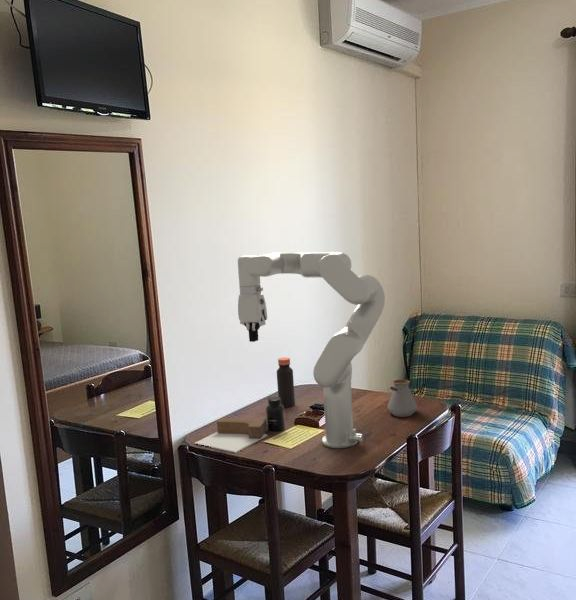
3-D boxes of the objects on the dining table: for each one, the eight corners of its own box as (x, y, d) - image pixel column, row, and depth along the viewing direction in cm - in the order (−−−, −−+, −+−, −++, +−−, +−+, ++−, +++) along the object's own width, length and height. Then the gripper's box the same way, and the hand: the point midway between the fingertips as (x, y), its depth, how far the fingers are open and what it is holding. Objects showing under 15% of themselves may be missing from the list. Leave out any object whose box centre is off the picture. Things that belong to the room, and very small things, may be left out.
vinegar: (292, 407, 253) (289, 360, 250) (276, 407, 255) (273, 360, 252) (296, 402, 259) (294, 356, 256) (281, 402, 261) (278, 356, 259)
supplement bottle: (269, 433, 224) (267, 402, 223) (265, 427, 231) (263, 397, 229) (287, 430, 226) (285, 399, 225) (282, 425, 233) (280, 394, 231)
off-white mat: (267, 435, 222) (267, 434, 222) (235, 453, 208) (235, 451, 208) (227, 428, 233) (227, 426, 233) (194, 444, 219) (194, 442, 218)
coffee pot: (392, 408, 245) (390, 371, 243) (420, 410, 240) (419, 373, 238) (376, 425, 226) (375, 386, 224) (407, 428, 221) (406, 388, 219)
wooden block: (259, 427, 217) (212, 426, 222) (260, 439, 218) (213, 438, 222) (266, 418, 226) (220, 417, 230) (267, 430, 227) (221, 429, 231)
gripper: (273, 289, 216) (276, 340, 218) (240, 288, 224) (244, 337, 227) (260, 292, 209) (264, 344, 212) (227, 291, 218) (231, 341, 220)
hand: (253, 340), depth 219 cm, fingers closed
